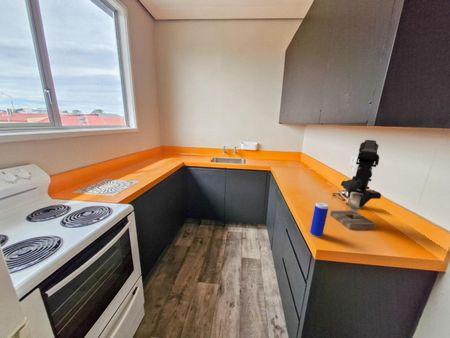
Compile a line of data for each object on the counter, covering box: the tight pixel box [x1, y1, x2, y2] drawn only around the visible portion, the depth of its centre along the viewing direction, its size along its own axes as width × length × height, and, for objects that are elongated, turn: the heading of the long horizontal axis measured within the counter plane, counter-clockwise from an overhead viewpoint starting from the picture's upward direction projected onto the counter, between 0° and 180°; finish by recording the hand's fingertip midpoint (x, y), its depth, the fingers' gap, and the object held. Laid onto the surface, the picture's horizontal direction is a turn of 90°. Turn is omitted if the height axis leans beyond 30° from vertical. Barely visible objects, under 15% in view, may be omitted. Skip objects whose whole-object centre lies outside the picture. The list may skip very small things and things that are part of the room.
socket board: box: [330, 209, 377, 230], centre depth 96 cm, size 14×14×3 cm
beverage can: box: [309, 201, 329, 238], centre depth 81 cm, size 5×5×15 cm
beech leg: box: [347, 192, 363, 213], centre depth 94 cm, size 6×6×10 cm
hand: (355, 204), depth 94 cm, fingers closed on beech leg, 6 cm apart
